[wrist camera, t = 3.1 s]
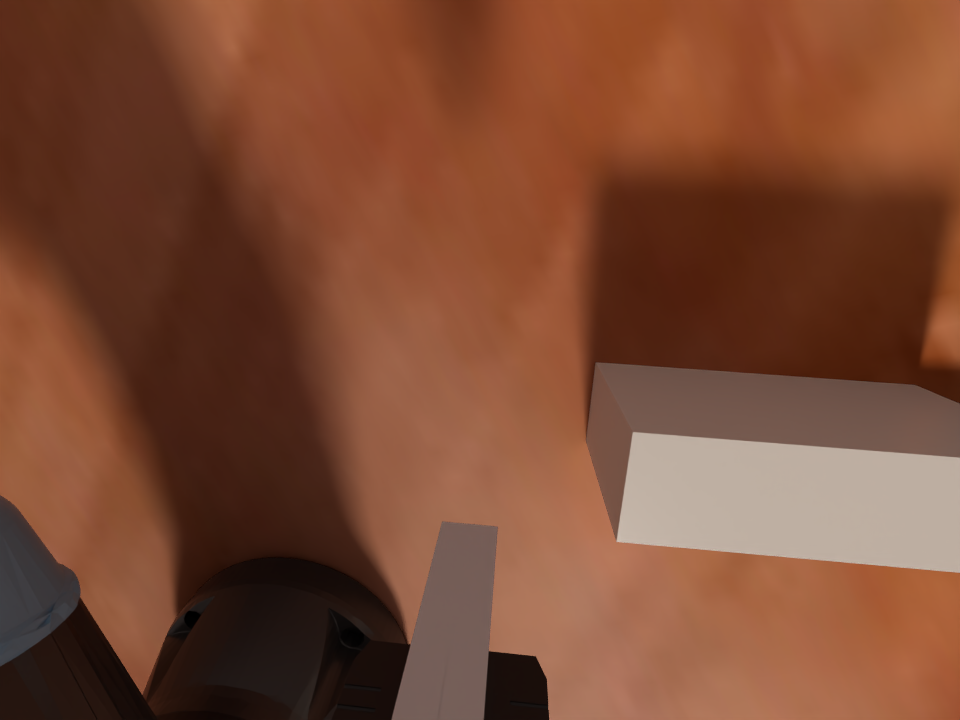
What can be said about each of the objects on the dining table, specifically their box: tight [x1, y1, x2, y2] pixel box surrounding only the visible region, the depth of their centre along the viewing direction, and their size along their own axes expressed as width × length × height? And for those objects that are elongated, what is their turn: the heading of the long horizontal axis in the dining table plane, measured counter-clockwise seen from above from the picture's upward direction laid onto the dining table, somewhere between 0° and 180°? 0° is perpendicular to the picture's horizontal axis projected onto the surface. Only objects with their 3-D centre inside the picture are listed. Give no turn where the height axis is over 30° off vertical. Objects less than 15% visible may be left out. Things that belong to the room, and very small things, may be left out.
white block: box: [586, 362, 960, 573], centre depth 22 cm, size 20×4×9 cm, turn 87°
